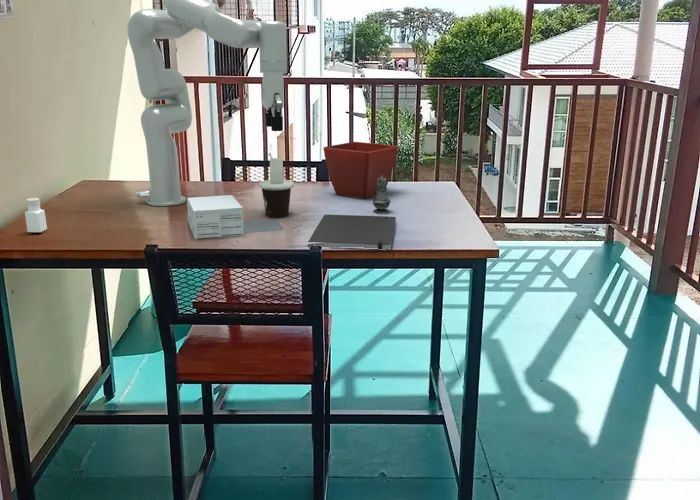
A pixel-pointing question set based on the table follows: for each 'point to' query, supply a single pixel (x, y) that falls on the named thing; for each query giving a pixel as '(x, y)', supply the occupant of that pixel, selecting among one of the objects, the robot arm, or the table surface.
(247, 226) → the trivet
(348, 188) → the plant pot
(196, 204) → the supplement box
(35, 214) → the salt shaker
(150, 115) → the robot arm
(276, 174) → the lid
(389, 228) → the notebook
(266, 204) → the coffee mug
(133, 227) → the table surface
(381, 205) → the grey stone figurine
